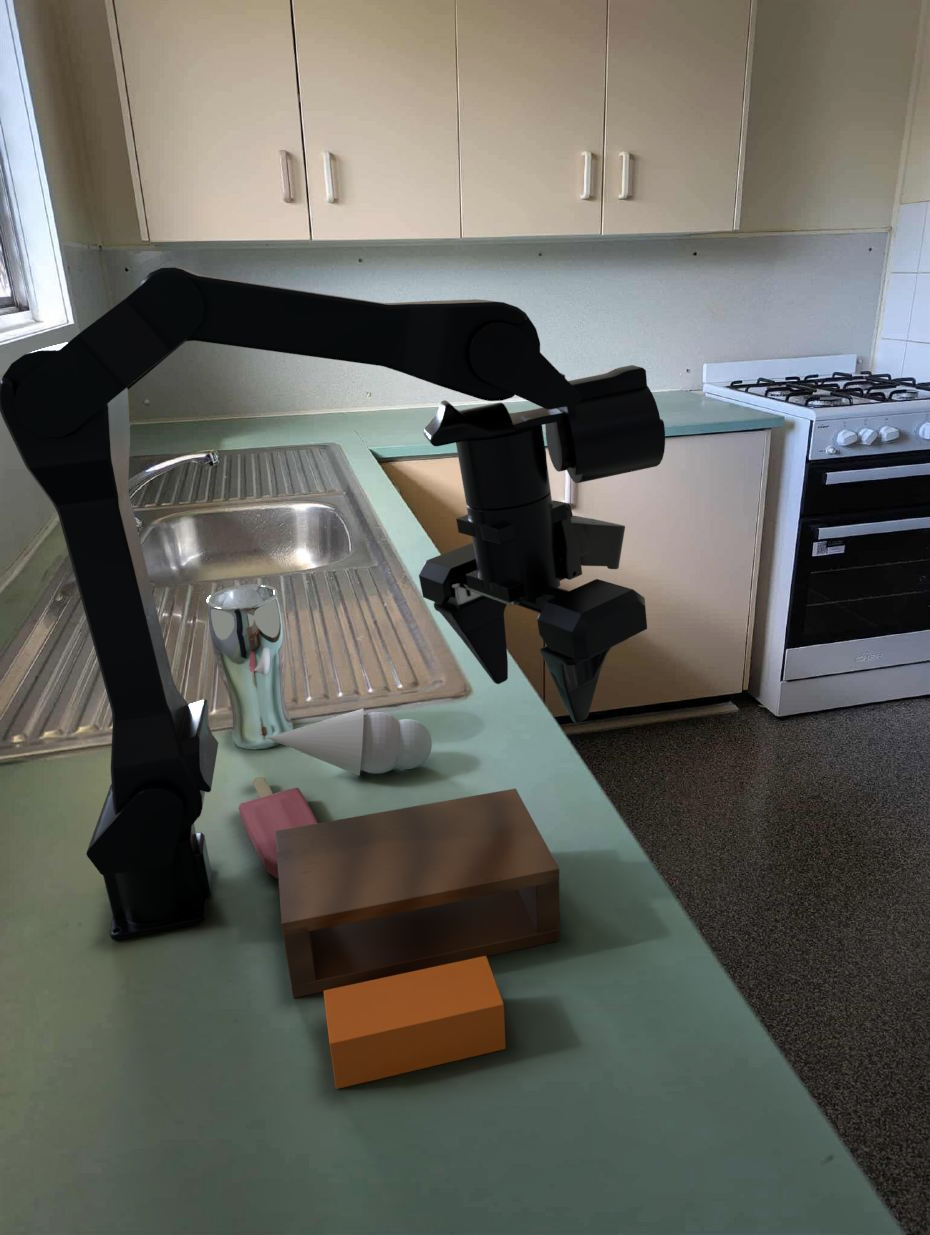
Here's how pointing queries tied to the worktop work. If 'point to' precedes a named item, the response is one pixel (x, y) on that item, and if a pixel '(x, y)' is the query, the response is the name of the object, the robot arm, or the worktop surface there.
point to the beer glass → (251, 661)
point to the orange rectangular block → (413, 1021)
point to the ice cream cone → (362, 742)
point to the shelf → (422, 939)
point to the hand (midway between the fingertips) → (538, 699)
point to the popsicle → (273, 819)
